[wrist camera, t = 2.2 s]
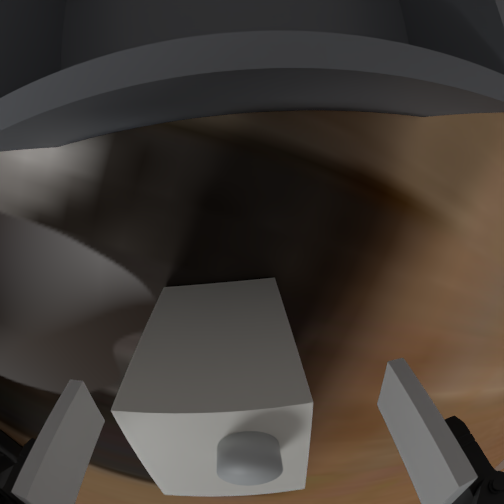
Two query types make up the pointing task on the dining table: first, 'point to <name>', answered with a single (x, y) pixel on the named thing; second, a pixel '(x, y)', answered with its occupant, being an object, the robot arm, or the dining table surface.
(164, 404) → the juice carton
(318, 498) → the dining table surface
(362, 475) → the dining table surface
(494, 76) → the bin
